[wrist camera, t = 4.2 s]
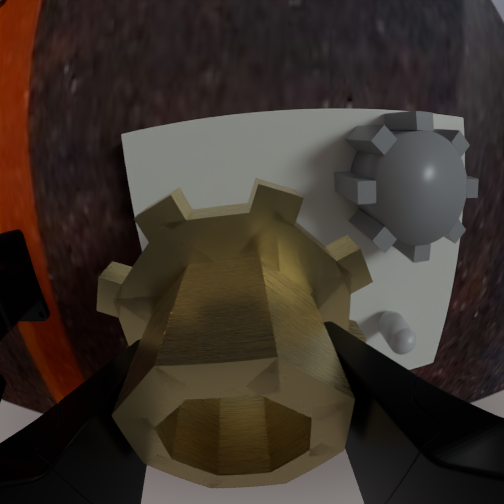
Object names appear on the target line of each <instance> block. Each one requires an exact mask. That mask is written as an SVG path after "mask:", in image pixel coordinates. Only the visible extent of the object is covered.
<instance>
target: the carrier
mask: <svg viewBox="0 0 504 504" xmlns="http://www.w3.org/2000/svg"><path fill="white" fill-rule="evenodd" d="M121 136H122V144H123V151H124V158H125V165H126V171H127V177H128V183H129V189H130V195H131V200H132V206H133V211H134V216H135V217H136V216H137V215H138V214H139V213H141V212H142V211H143V210H144V209H145V208H147V207H148V206H150V205H152V204H153V203H155V202H156V201H158V200H159V199H161V198H163V197H164V196H166V195H168V194H169V193H171V192H172V191H174V190H176V189H177V188H179V187H180V189H181V191H182V192H183V194H184V196H185V197H186V199H187V201H188V202H189V204H190V206H191V207H192V209H200V208H208V207H216V206H224V205H233V204H242V203H248V201H249V197H250V194H251V191H252V188H253V184H254V181H255V178H258V179H262V180H265V181H268V182H272V183H275V184H278V185H282V186H285V187H288V188H291V189H295V190H296V191H297V192H298V193H299V194H301V195H302V196H303V197H304V199H303V202H302V205H301V208H300V211H299V214H298V217H297V220H296V222H297V223H299V224H300V225H301V226H302V227H303V228H305V229H306V230H307V231H308V232H309V233H311V234H312V235H313V236H314V237H315V238H316V239H318V240H319V241H320V242H321V243H322V244H324V245H325V246H327V245H329V244H331V243H333V242H334V241H336V240H338V239H340V238H342V237H344V236H346V235H347V236H348V237H349V238H350V239H351V240H352V241H353V242H354V243H355V244H356V245H357V246H358V247H359V248H360V249H361V251H362V254H363V256H364V259H365V261H366V264H367V267H368V269H369V272H370V275H371V278H372V280H373V282H372V283H370V284H368V285H367V286H365V287H363V288H361V289H359V290H357V291H356V292H354V293H352V294H351V301H350V316H349V320H354V321H356V322H357V324H358V326H359V327H360V329H361V331H362V333H363V334H364V336H365V338H366V340H367V341H366V343H367V344H368V345H370V346H372V347H373V348H375V349H376V350H378V351H379V352H381V353H383V354H384V355H386V356H387V357H389V358H391V359H392V360H394V361H395V362H397V363H399V364H400V365H402V366H403V367H405V368H407V369H408V370H410V369H413V368H417V367H420V366H423V365H427V364H430V363H433V361H434V358H435V354H436V351H437V348H438V344H439V341H440V337H441V334H442V330H443V326H444V322H445V318H446V314H447V309H448V305H449V300H450V296H451V291H452V286H453V281H454V275H455V269H456V263H457V256H458V249H459V242H460V237H461V236H462V234H463V233H464V232H465V230H466V229H465V228H464V226H463V225H462V213H463V207H464V204H465V200H466V198H477V197H478V179H477V178H473V177H470V176H466V171H465V151H466V150H467V148H468V147H469V143H468V142H467V140H466V139H465V137H464V122H463V118H462V117H455V116H447V115H439V114H433V113H431V112H421V111H396V110H377V109H300V110H281V111H267V112H255V113H245V114H235V115H227V116H219V117H211V118H204V119H197V120H191V121H185V122H179V123H173V124H167V125H162V126H157V127H152V128H147V129H142V130H138V131H133V132H129V133H125V134H121ZM136 226H137V230H138V235H139V240H140V244H141V249H142V252H143V251H144V249H145V248H146V246H147V245H148V243H149V242H148V240H147V239H146V237H145V236H144V234H143V233H142V231H141V229H140V228H139V226H138V225H137V223H136Z"/></svg>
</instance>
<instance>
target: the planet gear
mask: <svg viewBox="0 0 504 504" xmlns="http://www.w3.org/2000/svg"><path fill="white" fill-rule="evenodd" d="M303 199H304V197H303V196H302V195H301V194H299V193H298V192H297V191H296V190H295V189H291V188H288V187H285V186H282V185H278V184H275V183H272V182H268V181H265V180H262V179H258V178H255V181H254V184H253V188H252V191H251V194H250V197H249V201H248V203H242V204H233V205H224V206H216V207H208V208H200V209H192V207H191V206H190V204H189V202H188V201H187V199H186V197H185V196H184V194H183V192H182V191H181V189H180V187H179V188H177V189H176V190H174V191H172V192H171V193H169V194H168V195H166V196H164V197H163V198H161V199H159V200H158V201H156V202H155V203H153V204H152V205H150V206H148V207H147V208H145V209H144V210H143V211H142V212H141V213H139V214H138V215H137V216H136V217H135V218H134V220H135V222H136V223H137V225H138V226H139V228H140V229H141V231H142V233H143V234H144V236H145V237H146V239H147V240H148V242H149V243H148V245H147V246H146V248H145V249H144V251H143V252H142V254H141V255H140V257H139V258H138V260H137V261H136V263H135V264H134V266H133V267H131V266H127V265H124V264H120V263H117V262H113V261H112V262H111V264H110V265H109V266H108V267H107V268H106V269H105V270H104V271H103V273H102V274H101V275H100V276H99V277H98V291H97V311H99V312H103V313H106V314H109V315H112V316H115V317H118V318H119V320H120V323H121V326H122V329H123V331H124V334H125V337H126V339H127V342H128V344H127V346H126V348H125V349H127V348H128V347H129V346H130V345H132V344H133V343H134V342H135V341H137V340H141V341H140V343H139V345H138V348H137V350H136V353H135V355H134V358H133V360H132V363H131V365H130V368H129V370H128V373H127V375H126V378H125V381H124V383H123V386H122V388H121V391H120V394H119V396H118V399H117V402H116V405H115V407H114V410H113V413H112V417H113V419H114V421H115V422H116V424H117V425H118V427H119V428H120V430H121V432H122V433H123V435H124V436H125V438H126V439H127V441H128V442H129V443H130V445H131V446H132V448H133V449H134V451H135V452H136V453H137V455H138V456H139V458H140V459H141V460H142V462H143V463H144V464H146V465H149V466H151V467H153V468H156V469H158V470H161V471H163V472H166V473H169V474H171V475H174V476H176V477H179V478H182V479H185V480H187V481H191V482H193V483H196V484H200V485H203V486H206V487H209V488H236V487H253V486H265V485H275V484H284V483H287V482H289V481H291V480H293V479H295V478H297V477H299V476H301V475H303V474H305V473H306V472H308V471H310V470H312V469H314V468H315V467H317V466H319V465H321V464H322V463H324V462H326V461H327V460H329V459H331V458H332V457H334V456H336V455H337V454H339V453H341V452H342V451H344V449H345V444H346V440H347V436H348V431H349V427H350V422H351V417H352V412H353V407H354V402H355V398H354V395H353V393H352V390H351V388H350V385H349V383H348V380H347V378H346V375H345V373H344V371H343V368H342V366H341V363H340V361H339V358H338V356H337V354H336V351H335V349H334V346H333V344H332V342H331V339H330V337H329V335H328V332H327V330H326V328H325V325H324V323H323V322H328V321H332V322H334V323H335V324H337V325H338V326H340V327H342V328H343V329H345V330H346V331H348V332H349V333H351V334H353V335H354V336H356V337H357V338H359V339H360V340H362V341H364V342H365V343H366V341H367V340H366V338H365V336H364V334H363V333H362V331H361V329H360V327H359V326H358V324H357V322H356V321H354V320H349V316H350V301H351V294H352V293H354V292H356V291H357V290H359V289H361V288H363V287H365V286H367V285H368V284H370V283H372V282H373V280H372V278H371V275H370V272H369V269H368V267H367V264H366V261H365V259H364V256H363V254H362V251H361V249H360V248H359V247H358V246H357V245H356V244H355V243H354V242H353V241H352V240H351V239H350V238H349V237H348V236H347V235H346V236H344V237H342V238H340V239H338V240H336V241H334V242H333V243H331V244H329V245H327V246H325V245H324V244H322V243H321V242H320V241H319V240H318V239H316V238H315V237H314V236H313V235H312V234H311V233H309V232H308V231H307V230H306V229H305V228H303V227H302V226H301V225H300V224H299V223H297V222H296V220H297V217H298V214H299V211H300V208H301V205H302V202H303Z"/></svg>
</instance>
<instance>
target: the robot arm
mask: <svg viewBox="0 0 504 504" xmlns="http://www.w3.org/2000/svg"><path fill="white" fill-rule="evenodd" d="M16 236H17V238H18V240H17V238H16ZM42 312H43V313H44V314H43V313H42ZM49 316H50V313H49V310H48V307H47V305H46V302H45V300H44V297H43V294H42V292H41V289H40V286H39V283H38V280H37V278H36V275H35V272H34V269H33V266H32V263H31V259H30V256H29V253H28V249H27V246H26V242H25V239H24V235H23V233H22V232H21V231H20V230H18V229H17V230H12V231H8V232H4V233H0V341H1V340H2V339H3V338H4V337H5V336H6V334H7V333H8V332H9V331H10V330H11V329H12V328H13V327H14V326H15V325H16V324H17V323H18V322H19V321H46V320H47V319H48V317H49ZM323 323H324V325H325V328H326V330H327V332H328V335H329V337H330V339H331V342H332V344H333V346H334V349H335V351H336V354H337V356H338V358H339V361H340V363H341V366H342V368H343V371H344V373H345V375H346V378H347V380H348V383H349V385H350V388H351V390H352V393H353V395H354V398H355V402H354V407H353V412H352V417H351V422H350V427H349V431H348V436H347V440H346V444H345V449H346V452H347V454H348V458H349V460H350V463H351V466H352V469H353V472H354V475H355V478H356V480H357V483H358V486H359V489H360V492H361V495H362V498H363V501H364V504H504V418H502V417H499V416H496V415H494V414H492V413H489V412H487V411H485V410H483V409H481V408H478V407H476V406H474V405H472V404H470V403H468V402H465V401H463V400H461V399H459V398H457V397H455V396H453V395H451V394H449V393H447V392H445V391H443V390H441V389H440V388H438V387H436V386H435V385H433V384H431V383H429V382H428V381H426V380H424V379H423V378H421V377H420V376H417V375H416V374H415V373H413V372H411V371H410V370H408V369H407V368H405V367H403V366H402V365H400V364H399V363H397V362H395V361H394V360H392V359H391V358H389V357H387V356H386V355H384V354H383V353H381V352H379V351H378V350H376V349H375V348H373V347H372V346H370V345H368V344H367V343H365V342H364V341H362V340H360V339H359V338H357V337H356V336H354V335H353V334H351V333H349V332H348V331H346V330H345V329H343V328H342V327H340V326H338V325H337V324H335V323H334V322H332V321H328V322H323ZM140 341H141V340H137V341H135V342H134V343H133V344H132V345H130V346H129V347H128V348H127V349H125V350H124V351H123V352H122V353H120V354H119V355H118V356H116V357H115V358H114V359H113V360H111V361H110V362H109V363H108V364H106V365H105V366H104V367H103V368H101V369H100V370H99V371H97V372H96V373H95V374H94V375H92V376H91V377H90V378H89V379H87V380H86V381H85V382H84V383H82V384H81V385H80V386H79V387H77V388H76V389H75V390H73V391H72V392H71V393H70V394H68V395H67V396H66V397H65V398H63V399H62V400H61V401H60V402H59V404H58V403H57V404H56V405H54V406H53V407H52V408H51V409H49V410H48V411H47V412H46V413H44V414H43V415H42V416H40V417H39V418H38V419H36V420H35V421H33V422H32V423H30V424H29V425H28V426H26V427H25V428H23V429H22V430H20V431H18V432H17V433H15V434H14V435H12V436H11V437H9V438H8V439H6V440H5V441H3V442H1V443H0V504H141V498H142V491H143V485H144V479H145V473H146V467H147V465H146V464H144V463H143V462H142V460H141V459H140V458H139V456H138V455H137V453H136V452H135V451H134V449H133V448H132V446H131V445H130V443H129V442H128V441H127V439H126V438H125V436H124V435H123V433H122V432H121V430H120V428H119V427H118V425H117V424H116V422H115V421H114V419H113V417H112V413H113V410H114V407H115V405H116V402H117V399H118V396H119V394H120V391H121V388H122V386H123V383H124V381H125V378H126V375H127V373H128V370H129V368H130V365H131V363H132V360H133V358H134V355H135V353H136V350H137V348H138V345H139V343H140ZM416 376H417V377H416ZM5 386H6V380H5V379H4V377H3V376H2V375H1V374H0V402H1V398H2V395H3V392H4V389H5Z"/></svg>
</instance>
